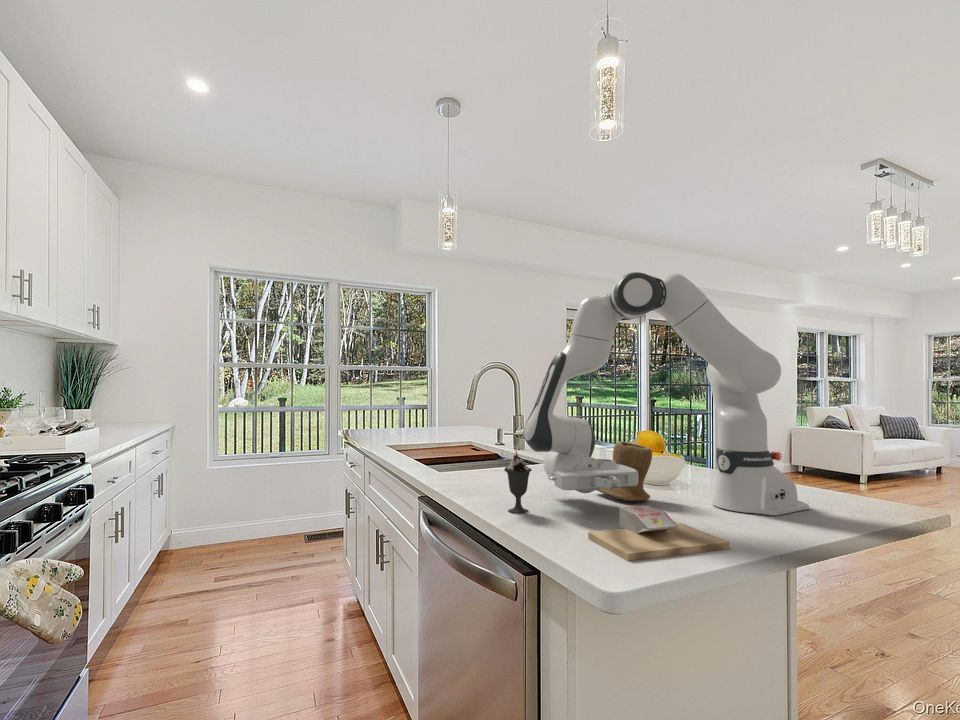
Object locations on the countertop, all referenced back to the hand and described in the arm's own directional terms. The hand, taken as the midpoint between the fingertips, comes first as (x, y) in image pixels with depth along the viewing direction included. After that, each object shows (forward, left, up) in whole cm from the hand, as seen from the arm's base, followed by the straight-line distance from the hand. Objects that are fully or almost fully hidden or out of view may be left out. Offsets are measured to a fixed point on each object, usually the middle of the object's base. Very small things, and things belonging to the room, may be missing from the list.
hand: (614, 484), depth 115 cm
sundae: (+17, -15, -8) cm, 24 cm away
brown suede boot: (-16, -20, -8) cm, 27 cm away
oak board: (+1, +16, -8) cm, 18 cm away
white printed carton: (0, +7, -5) cm, 8 cm away
